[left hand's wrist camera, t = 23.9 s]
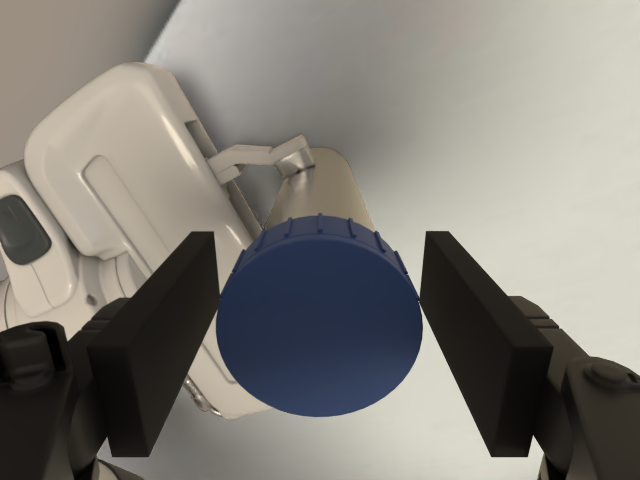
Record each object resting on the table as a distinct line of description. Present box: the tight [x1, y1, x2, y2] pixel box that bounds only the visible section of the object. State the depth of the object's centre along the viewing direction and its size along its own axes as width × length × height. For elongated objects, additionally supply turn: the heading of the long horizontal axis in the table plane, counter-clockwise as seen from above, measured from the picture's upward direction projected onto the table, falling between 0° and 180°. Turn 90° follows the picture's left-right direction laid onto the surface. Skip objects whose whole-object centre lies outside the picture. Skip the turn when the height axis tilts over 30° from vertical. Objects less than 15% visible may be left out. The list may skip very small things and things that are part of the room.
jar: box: [264, 147, 375, 232], centre depth 19 cm, size 4×4×18 cm
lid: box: [216, 213, 423, 417], centre depth 11 cm, size 5×5×2 cm
